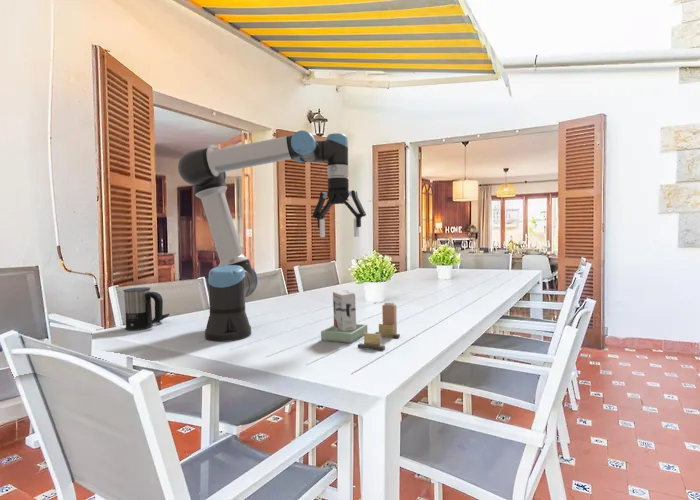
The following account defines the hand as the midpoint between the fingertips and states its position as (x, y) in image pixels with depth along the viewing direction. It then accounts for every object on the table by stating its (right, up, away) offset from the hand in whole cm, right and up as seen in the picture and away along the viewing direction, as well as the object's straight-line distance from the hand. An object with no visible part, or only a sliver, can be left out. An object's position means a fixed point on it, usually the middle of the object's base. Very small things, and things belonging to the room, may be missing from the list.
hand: (339, 236), depth 155 cm
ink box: (+2, -31, -15) cm, 34 cm away
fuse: (+17, -33, -13) cm, 39 cm away
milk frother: (-73, -34, +8) cm, 81 cm away
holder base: (+13, -34, -22) cm, 42 cm away
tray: (+2, -33, -14) cm, 36 cm away
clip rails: (+13, -34, -22) cm, 42 cm away
